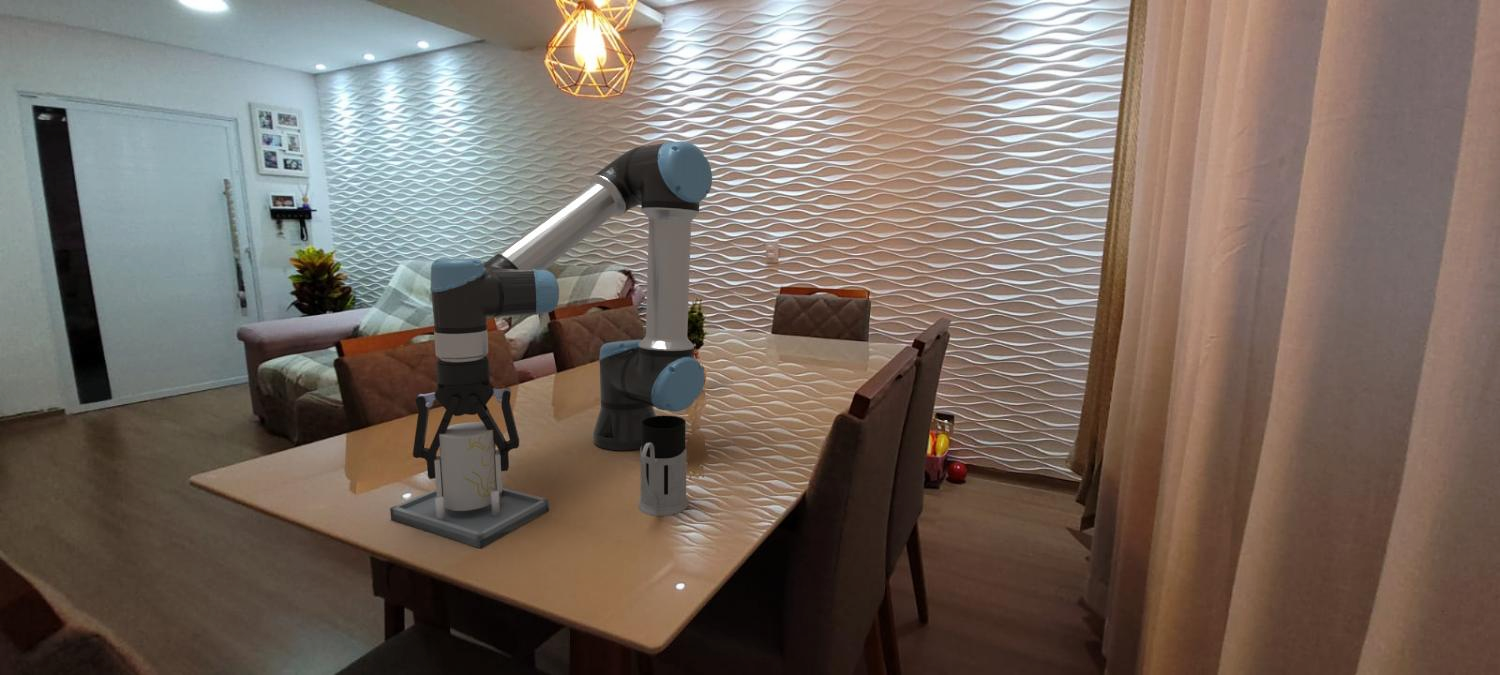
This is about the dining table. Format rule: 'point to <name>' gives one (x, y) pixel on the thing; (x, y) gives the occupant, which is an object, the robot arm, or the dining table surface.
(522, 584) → the dining table surface
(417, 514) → the tray
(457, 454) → the cup
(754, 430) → the dining table surface
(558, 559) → the dining table surface
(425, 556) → the dining table surface
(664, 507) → the glass holder
